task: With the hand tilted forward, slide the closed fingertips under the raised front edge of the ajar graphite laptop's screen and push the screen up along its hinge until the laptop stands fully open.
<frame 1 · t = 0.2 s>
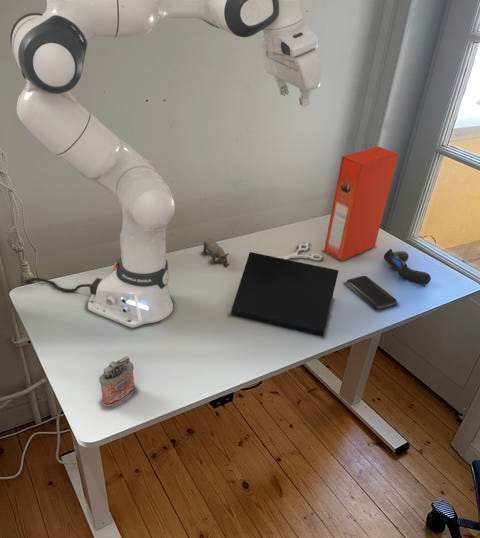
hand: (294, 99, 118), 52 cm above the table, tool tilted 20°, fingers open, 8 cm apart
gaming controller: (402, 273, 160), on the table
scissors: (292, 257, 163), on the table
laptop screen: (285, 290, 136), point 7 cm above the table, hinge at 30.0°
laptop: (283, 307, 141), on the table
file binder: (349, 249, 170), on the table
lighter: (119, 397, 110), on the table
rhino figurine: (216, 262, 157), on the table
phone: (370, 294, 149), on the table
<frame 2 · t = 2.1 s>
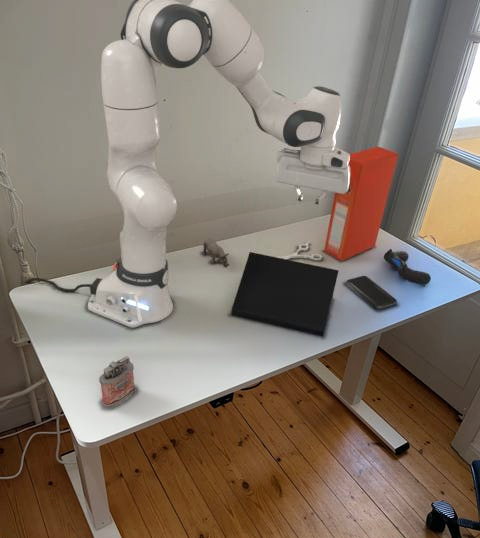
hand: (308, 201, 142), 23 cm above the table, tool pointing down, fingers open, 4 cm apart
nothing on the table moved.
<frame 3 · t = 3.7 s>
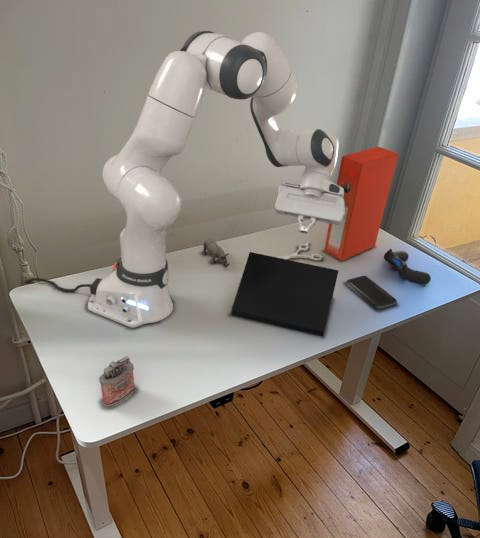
hand: (303, 232, 147), 14 cm above the table, tool tilted 45°, fingers closed
nothing on the table moved.
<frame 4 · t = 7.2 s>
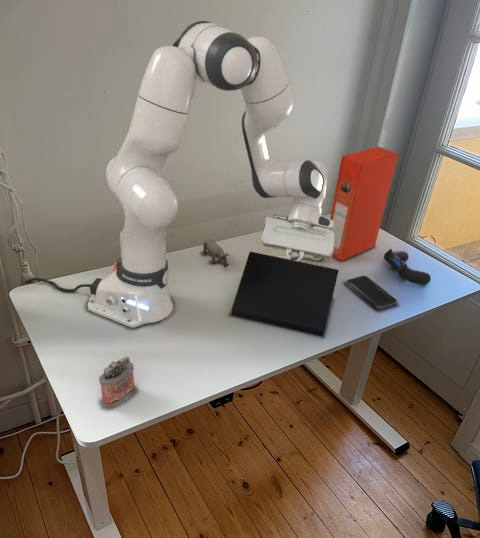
hand: (292, 267, 140), 10 cm above the table, tool tilted 45°, fingers closed, pressing on laptop screen
laptop screen: (285, 289, 135), point 7 cm above the table, hinge at 31.1°, touching gripper
everything else where it was.
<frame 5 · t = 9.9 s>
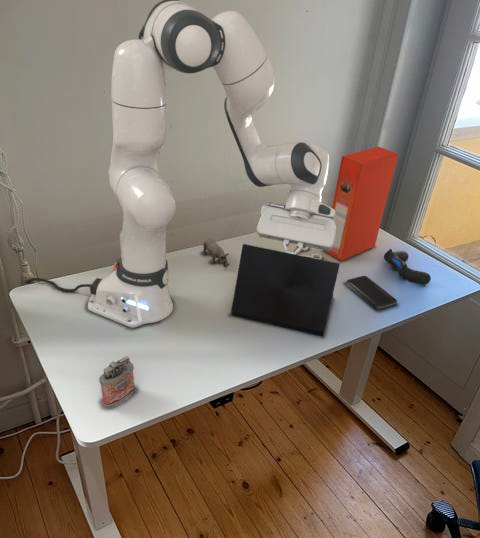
hand: (289, 259, 129), 17 cm above the table, tool tilted 45°, fingers closed, pressing on laptop screen
laptop screen: (283, 287, 130), point 10 cm above the table, hinge at 67.9°, touching gripper
everything else where it was.
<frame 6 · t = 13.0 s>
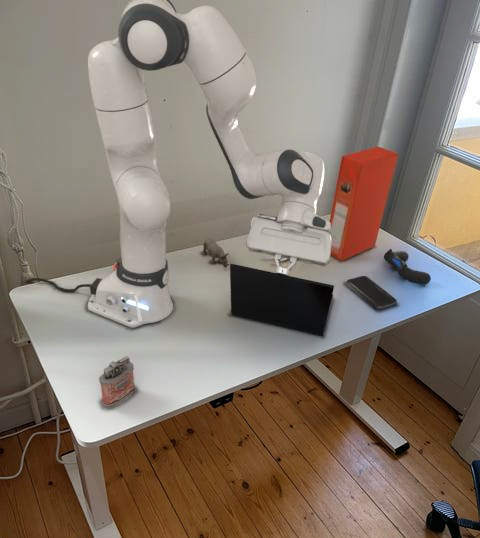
hand: (281, 275, 119), 18 cm above the table, tool tilted 45°, fingers closed, pressing on laptop screen
laptop screen: (279, 299, 125), point 10 cm above the table, hinge at 105.1°, touching gripper
everything else where it was.
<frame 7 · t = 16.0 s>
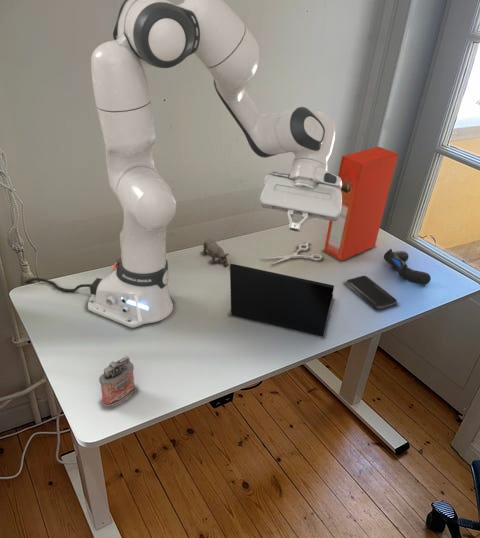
hand: (294, 230, 125), 24 cm above the table, tool tilted 45°, fingers closed
laptop screen: (279, 299, 125), point 10 cm above the table, hinge at 105.1°
everything else where it was.
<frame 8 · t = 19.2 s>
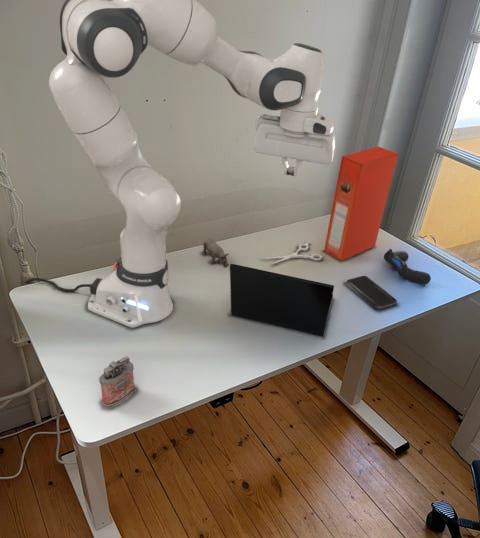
hand: (290, 174, 131), 33 cm above the table, tool pointing down, fingers closed
nothing on the table moved.
at the end: laptop screen at +105° (first picture: +30°) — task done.
